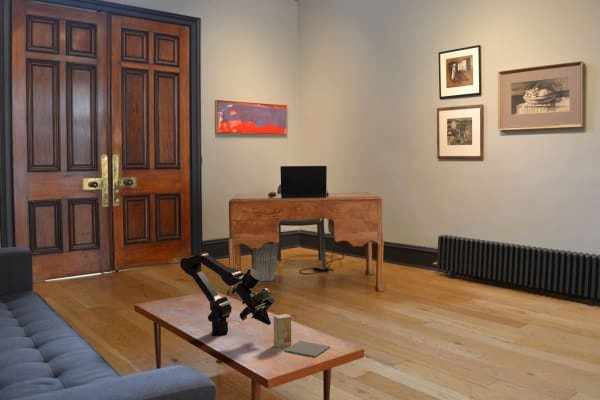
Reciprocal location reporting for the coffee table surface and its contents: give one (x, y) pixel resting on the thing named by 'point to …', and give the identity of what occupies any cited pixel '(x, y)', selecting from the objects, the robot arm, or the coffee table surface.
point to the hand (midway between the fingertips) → (269, 324)
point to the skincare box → (282, 330)
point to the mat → (307, 349)
